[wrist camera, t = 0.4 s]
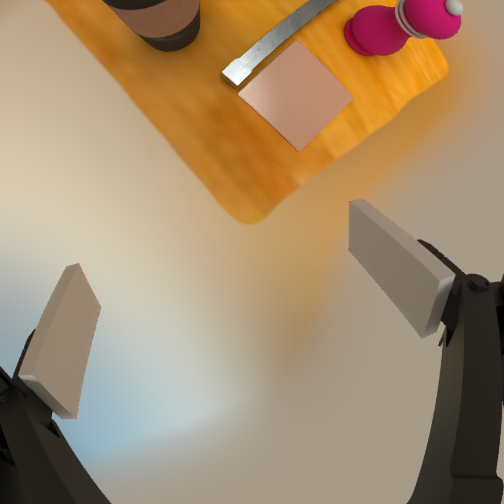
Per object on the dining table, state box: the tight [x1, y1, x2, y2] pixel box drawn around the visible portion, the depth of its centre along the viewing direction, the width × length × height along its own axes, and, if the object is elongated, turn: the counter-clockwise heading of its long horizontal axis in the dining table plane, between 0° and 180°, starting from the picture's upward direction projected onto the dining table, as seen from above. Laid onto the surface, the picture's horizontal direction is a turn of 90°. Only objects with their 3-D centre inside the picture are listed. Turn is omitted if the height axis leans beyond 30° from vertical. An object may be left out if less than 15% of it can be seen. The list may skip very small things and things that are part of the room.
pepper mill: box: [344, 0, 463, 56], centre depth 22 cm, size 7×7×20 cm
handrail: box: [221, 0, 336, 89], centre depth 28 cm, size 24×2×4 cm, turn 137°
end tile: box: [237, 40, 354, 152], centre depth 34 cm, size 11×11×1 cm
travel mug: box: [103, 0, 200, 51], centre depth 20 cm, size 8×8×20 cm
